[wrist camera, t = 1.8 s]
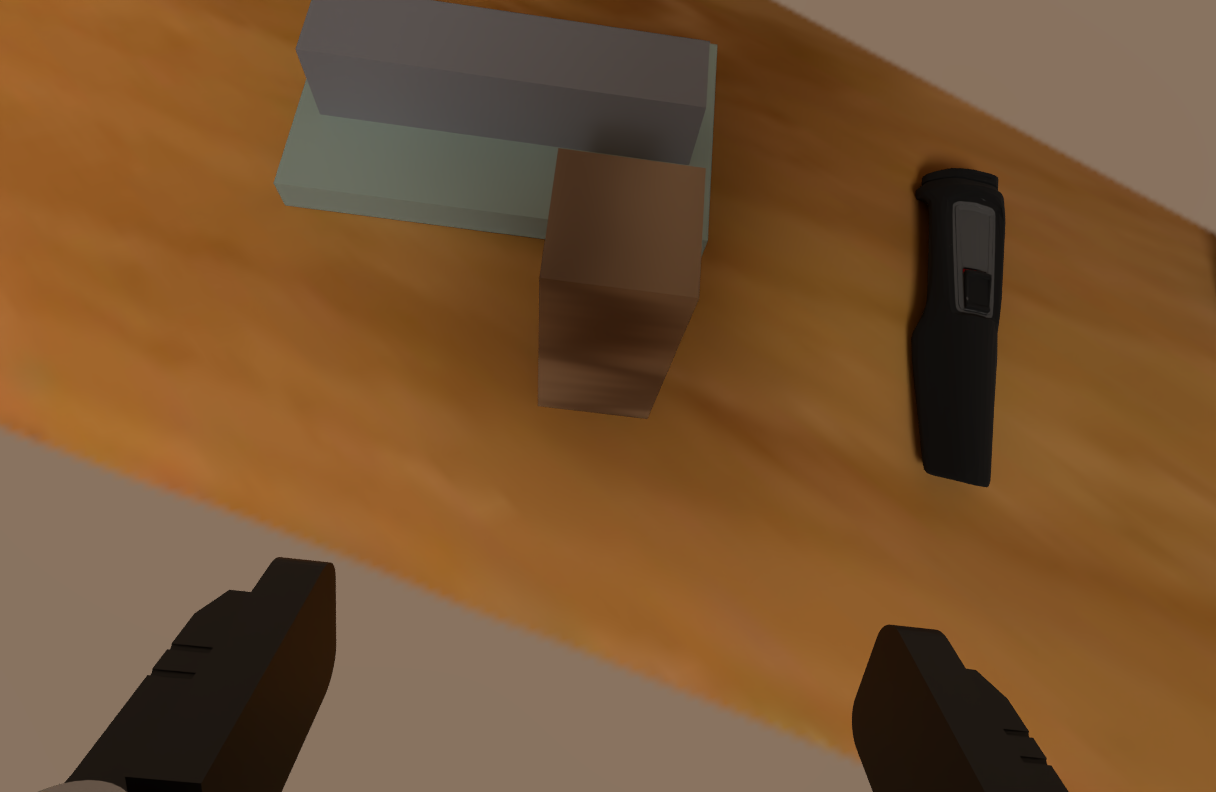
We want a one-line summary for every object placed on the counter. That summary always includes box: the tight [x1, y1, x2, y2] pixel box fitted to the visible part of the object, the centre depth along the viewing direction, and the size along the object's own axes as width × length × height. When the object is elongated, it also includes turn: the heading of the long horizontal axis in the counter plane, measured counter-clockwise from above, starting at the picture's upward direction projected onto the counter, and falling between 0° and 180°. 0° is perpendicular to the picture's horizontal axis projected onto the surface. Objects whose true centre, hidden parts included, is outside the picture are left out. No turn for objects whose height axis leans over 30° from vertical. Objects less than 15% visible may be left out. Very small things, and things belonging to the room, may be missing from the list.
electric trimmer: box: [911, 168, 1005, 487], centre depth 31 cm, size 4×16×3 cm, turn 168°
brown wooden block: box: [538, 148, 706, 419], centre depth 26 cm, size 4×4×10 cm
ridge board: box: [274, 0, 717, 257], centre depth 32 cm, size 18×11×5 cm, turn 85°
